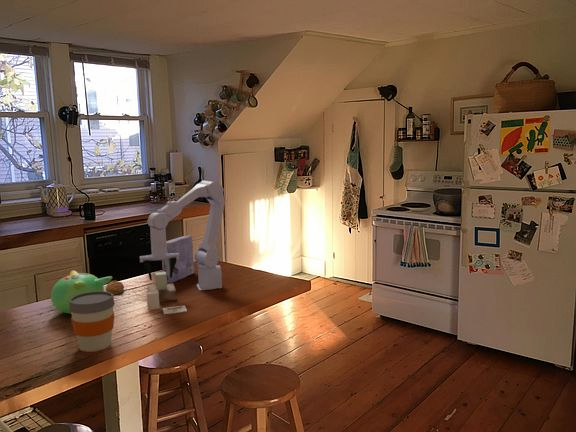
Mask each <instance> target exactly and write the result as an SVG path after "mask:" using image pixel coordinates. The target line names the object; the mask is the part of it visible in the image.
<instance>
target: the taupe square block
mask: <svg viewBox="0 0 576 432" xmlns="http://www.w3.org/2000/svg"><path fill="white" fill-rule="evenodd" d="M150 290H156V284H153V285H147V291H150ZM158 292H159V303H160V302H168V301H175V300H177V290H176V287H175V284H174V282H173V283H167V289H165V290H158Z"/></svg>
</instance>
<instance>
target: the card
mask: <svg viewBox="0 0 576 432" xmlns="http://www.w3.org/2000/svg"><path fill="white" fill-rule="evenodd" d="M162 312H163V315H173V314H178V313H186V312H188V309H187V308H186V305H177V306H171V307H170V306H169V307H162Z"/></svg>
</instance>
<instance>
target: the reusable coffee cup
mask: <svg viewBox="0 0 576 432" xmlns="http://www.w3.org/2000/svg"><path fill="white" fill-rule="evenodd" d="M114 306H115V299H114V294H112V293H110V292H107V291H106V290H104V291H94V292H87V293H82V294H78V295H76V296H74V297H72V298H71V299H70V301H69V311H70V312H71V314H70V315H71V317H70V321H71V325H72V329H73V334H75V336H76V339H77V343H78V348H79V350H80V351H82V352H88V353H89V352H98V351H101V350H105V349H107V348H109V347H110V346H111V345H112V334H113V329H114V327H115V326H114V324H115V323H114V322H115V321H114V320H115V311H114Z"/></svg>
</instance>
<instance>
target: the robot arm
mask: <svg viewBox="0 0 576 432" xmlns="http://www.w3.org/2000/svg"><path fill="white" fill-rule="evenodd" d="M224 190H225V189H224V187H223V186H222V184H221V183H220V182H218V181H210V180H201V181H200V182H198V183H197V184H195V186H193V188H192V189H190V190H189V191H188V192H187V193H185V194H184V195H182V197H181V198H180V197H179V199H178V200H176V201H175V200H172V201H170V200H169V201H167V202H166V204H165V205H164V206H163V207H161V208H158V209H157V211H156V212H152V213H151V214H150V215H149V216H148V218H147V220H146V222H147V224H148V226H149V227H150V228H149V230H150V232H149V233H150V247H151V248H150V249H151V254H148V255H147V254H146V255H140V256H139V263H143V266H144V268H145V269H146V272H147V274H148V278H149V281H152V280H153V277H152V271H151V270H152V268H151V267H152V265H151V262H153V261H155V262H156V261H162V260H166V259H169V265H170V278H172V274H173V270H174V267H175V264H176V262H177V260H176V259H179V253H167V244H166V241H167V233H166V232H167V230H166V229H167V228H166V227H167V226H168V224H169V222H170V221H172V220H173V219H174V218H176V217H177V216H178V215H180V214H181V213H182V210H183V208H185V207H186V206H188V205H189V204H191V203H192V202H193V201H195V200H196V199H198V198H205V199H206V200H207V202H208V203H209V204H210V207H209V212H208V218H207V221H206V225H205V230H204V234H203V235H204V236H203V239H202V242H201V243H200V244H199V245H198V248H197V250H196V251H195V253H194V261H195V262H197V275H198V276H197V277H198V283H197V284H196V287H197V289H198V291H206V290H207V291H208V290H216V289H217V288H218V289H223V283H222V282H223V279H222V268H221V265H220V264H219V265H217V264H218V262H219V256H218V255H219V254H218V252H219V249H218V247H217V241H218V236H219V231H220V227H221V223H222V219H223V213H224V209H225V205H226V200H225V196H224ZM218 289H217V290H218Z"/></svg>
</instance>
